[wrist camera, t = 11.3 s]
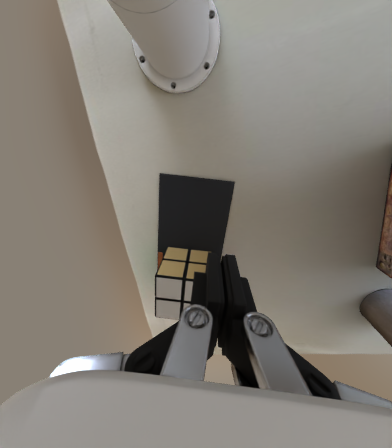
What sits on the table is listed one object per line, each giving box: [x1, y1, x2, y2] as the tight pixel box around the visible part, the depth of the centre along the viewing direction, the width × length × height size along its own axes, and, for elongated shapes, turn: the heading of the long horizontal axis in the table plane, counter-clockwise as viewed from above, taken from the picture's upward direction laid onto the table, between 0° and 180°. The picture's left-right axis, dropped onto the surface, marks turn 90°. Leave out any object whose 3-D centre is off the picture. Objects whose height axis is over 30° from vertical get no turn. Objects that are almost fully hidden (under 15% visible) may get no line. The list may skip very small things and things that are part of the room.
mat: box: [158, 174, 235, 268], centre depth 39 cm, size 28×14×1 cm, turn 174°
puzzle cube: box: [155, 247, 212, 320], centre depth 37 cm, size 10×10×10 cm
